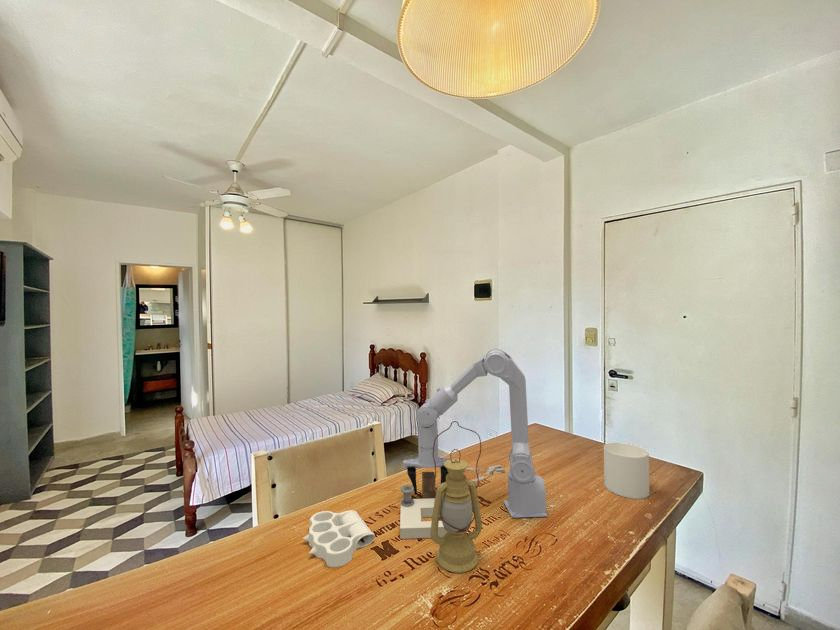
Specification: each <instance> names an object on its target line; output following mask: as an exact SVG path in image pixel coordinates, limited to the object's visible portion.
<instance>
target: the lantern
mask: <svg viewBox="0 0 840 630" xmlns="http://www.w3.org/2000/svg"><path fill="white" fill-rule="evenodd" d="M453 423H456V424H457V426H458V427H459V428H461V429H464V430H467V431H470V432H473V433H475V435H477V436H478V439H479V445H480V450H479V454H478V457H477V459H476V464H475V465H476V467H475V468H476V472H475V473H476V479H478V482H477V485H476V482H473V481H472V480H473V479H469V478H467V476H466V474H464V473H465V471H466V470H465V469H466V468H469V463H468V462H467V461H465V460H463V459H461V451H460V450H459V449H457V448H453V450H451V452H450V455H449V456H450V459H451V460H447V461H446V462H445V463H444V466H445V467H446V468H447V471H448V472H449V474H447V475H446V482H444V483H442V484H441V483H440V484H439V485H438V486H437V488H436V489H435V490H436V494H435V492H434V490H433V486H432V490H433V492H434V494H435V502H434V508H433V514H432V517H431V521H432V522H431V538H430V539H431V541H432V542H433V543H434V544H436V545H438V547H439V548H438V549H437V551H436V554H435V558H436V561H437V563H438V565H439V566H440V567H441V568H442V569H444V570H445V571H447V572H450V573H453V574H464V573H467V572H470V571H471V570H473V569H474V568H475V567H476V566H477V565H478V563H479V554H478V553H477V551H476V550H475V549H476V548H475V547H476V545H475V543H474V540H476V539H477V538H478V537H479V535H480V534H481V532H482V529H483V522H482V513H481V508H480V502H479V501H480V500H479V496H478V491H477V488H478V487H479V483H480V481H479V473H477V468H478V463H479V460H480V456H481V453H482V440H481V436H480V435H479V434H478V433H477V432H476V431H474V430H472V429H469V428H466V427H463V426H461V425H459V422H458V421H456V420H455V421H451V422H450V425H449V427H448V428H446V429H445V430H443V431H441V432H440V433H438V436H437V437H438V438H439V436H441V435H442V434H443V433H445V432H446V431H448V430H449V429H450V428H451V427H452V425H453ZM437 437H436V438H437ZM436 438H435V440H436ZM435 440H434V446H435ZM434 446H433V459H434ZM454 451H457V452H459V458H458V459H457V458H452V453H453V452H454ZM434 463H435V460H434ZM434 473H435V478H434V481H435V482H436V478H437V467H436V463H435V467H434ZM434 481H433V485H434ZM443 491H444V493H443ZM439 515H440V516H441V517H439ZM439 521H442V523H443V526H444V528H445V530H446V531H447V533H446V534H445V535H444V536H443V537H439V536H438V524H439ZM473 522H474V526H475V527H474V529H473V531H470V532H468V531H469V530H470V528H471V525H472V523H473Z"/></svg>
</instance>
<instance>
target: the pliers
mask: <svg viewBox="0 0 840 630" xmlns="http://www.w3.org/2000/svg"><path fill="white" fill-rule="evenodd" d="M473 468H474V470H473ZM475 468H476V467H467V468H466V469H470V470H469V471H471V470H473V471H475ZM498 468H501V469H498ZM466 469H465V471H467V470H466ZM481 469H482V470H483V469H484V468H481ZM495 469H496V470H495ZM477 470H478V469H477ZM473 471H472V472H473ZM480 471H481V470H480ZM480 471H477V472H480ZM494 471H496V472H504V471H505V472H506V469H505V468H502V465H501V464H498V465H492V466H491V465H490V466H488V470H487V472H484V474H488V475H489V474H491V473H493V472H494ZM481 474H482V475H481ZM480 475H481V476H480ZM486 477H487V476H486ZM478 478H479V480H482V479H484V476H483V472H482V473H481V472H480V473H479V474H478ZM478 478H475V479H471V480H472V481H473V482H474V483H476V482H475V481H478ZM482 481H483V480H482Z"/></svg>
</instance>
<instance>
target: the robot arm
mask: <svg viewBox="0 0 840 630" xmlns="http://www.w3.org/2000/svg"><path fill="white" fill-rule="evenodd" d="M488 374H489V375H491V376H494V377H497V378H498V379H501V380H502V381H503V382H504V383H506V385H508V392H509V411H510V432H511V449H510V451H509V453H508V459H509V470H508V472H507V499H504V500H503V504H504V506H505V508H506V509H507V511H508V513H509V515H510V516H511V518H513V519H514V518H515V519H519V518H539V517H540V518H541V517H542V518H545V517H547V516H548V514H547V500H546V499H547V494H546V486H545V485H546V484H545V481H544V479H543V477H542V476H541V475H536V474H535V473H536V471H535V467H534V464H533V457H532V453H531V452H530V442H529V441H530V440H529V439H530V438H529V422H528V421H529V420H528V403H527V383H526V382H527V381H526V377H525V374H524V373H523V371H522V370H521V369H520V368H519V366H518V364H517V363H516V362H515V361H514V359H513V358H512V357H511V355H510V354H508V353H507V352H505V351H504V350H502V349H500V348H493V349H490V350H489V351H488V352H487V353H486V355H485V354H484V355H482V356H481V357H479V358H478V359H477V360H475V361H474V362H473V363H472V364H471V365H470V366H469V367H468V368H466V370H465V371H463V373H461V374H460V375H459V377H458V378H457V379H456V380H454V382H453V383H451V384H450V385H447V384H446V385H442V387H441V386H438V388H436V390H435V391H436V392H435V393H434V394H433V395H432V396H431V397H430V398H426V400H425V401H424V403H423V404H422V405H421V406H420V407H419V408H418V410H417V411H416V413H415V418H416V422H417V423H418V426H417V427H418V428H417V429H418V431H417V437H418V438H417V439H418V440H417V441H418V444H417V445H418V446H417V447H418V457H415V458H411V459H404V460H403V462H402V463H403V470H406V471H407V472H406V473H407V476H408V477H409V479H410V481H411V482H410V483H411V486H413V487H414V491H413V493H414V495H418V489H417V486H418V485H417V469H425V468H426V469H431V468H432V469H433V468H434V469H435V463H436V468H440V484H442V483H444V482H446V475H447V474H449V472H448V471H447V468H446V467H445V466H444V463H445V462H446V461H447V460H451V459H452V458H447V457H439V436H438V435H439V429H438V418H439V417H440V416H442V415H444V413H446V412H447V411H448V410H449V409H450V408H451V407H452V406H453V405H454V404H455V403H457V402H458V400H459V399H458V397H459V396H458V394H460V393H461V392H462V391H463V390H464V389H466V388H467V387H468V386H469V385H470V384H472V382H473V381H475V380H476V379H477V378H479V377H487V376H488ZM437 436H438V437H437ZM436 437H437V438H436ZM435 438H436V440H435ZM434 440H435V446H434ZM433 446H434V459H433ZM434 460H435V463H434ZM443 493H444V491H443Z"/></svg>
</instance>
